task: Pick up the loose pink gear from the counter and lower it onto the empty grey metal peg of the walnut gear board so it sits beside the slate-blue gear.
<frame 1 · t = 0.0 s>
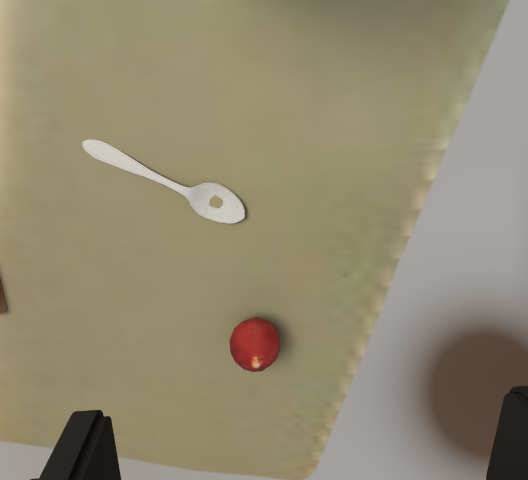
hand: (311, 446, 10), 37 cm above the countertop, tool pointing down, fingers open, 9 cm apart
spoon: (157, 174, 44), on the countertop
onion: (253, 326, 51), on the countertop
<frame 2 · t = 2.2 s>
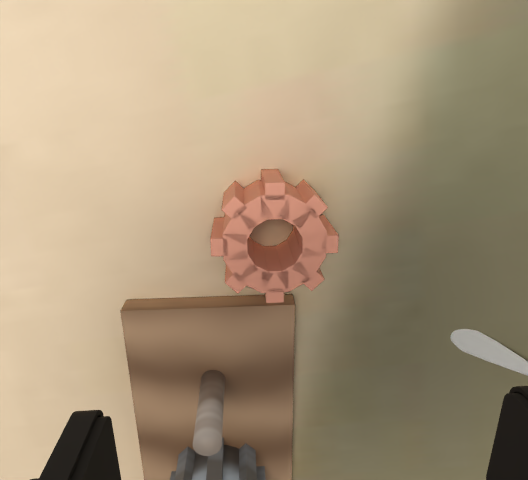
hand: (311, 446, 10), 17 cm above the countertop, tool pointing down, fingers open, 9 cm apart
gear board: (217, 426, 31), on the countertop
spoon: (527, 363, 32), on the countertop
pink gear: (269, 223, 26), on the countertop
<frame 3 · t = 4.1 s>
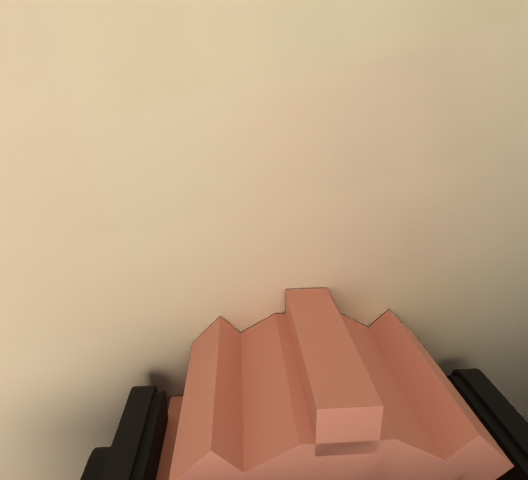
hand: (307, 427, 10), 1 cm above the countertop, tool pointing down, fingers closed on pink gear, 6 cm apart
pink gear: (302, 405, 11), on the countertop, touching gripper
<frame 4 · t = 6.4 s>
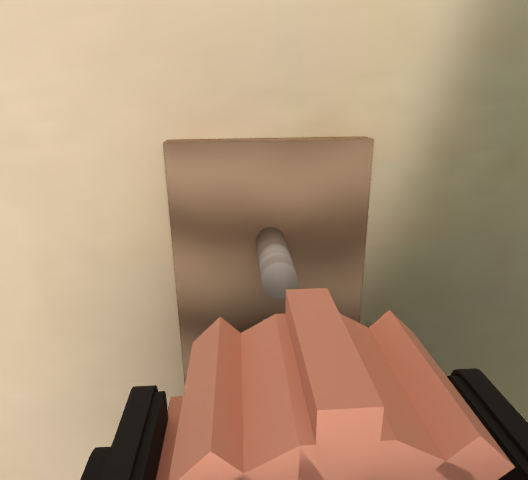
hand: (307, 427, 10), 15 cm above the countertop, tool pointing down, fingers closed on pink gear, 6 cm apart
gear board: (268, 313, 26), on the countertop
pink gear: (303, 405, 11), point 15 cm above the countertop, touching gripper
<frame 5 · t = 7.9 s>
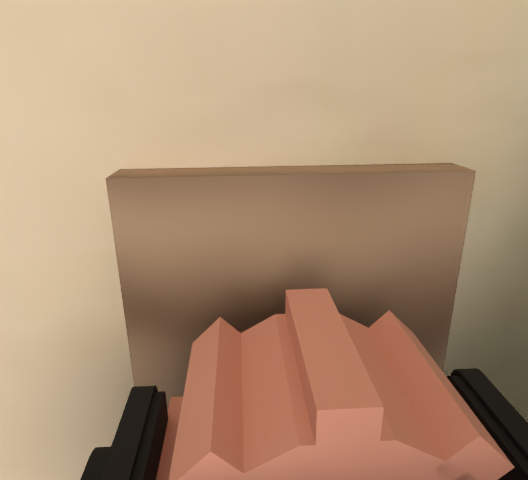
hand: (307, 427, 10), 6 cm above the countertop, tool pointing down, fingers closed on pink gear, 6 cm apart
gear board: (286, 428, 17), on the countertop
pink gear: (302, 405, 11), point 5 cm above the countertop, touching gripper
when the fingers open (4 cm above the countertop, at t = 8.8 s): pink gear drops 1 cm, resting on gear board.
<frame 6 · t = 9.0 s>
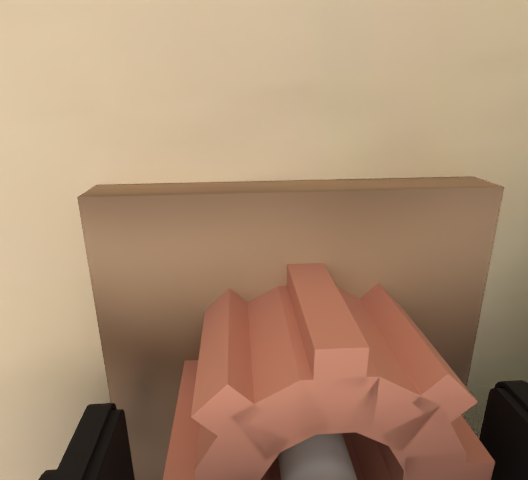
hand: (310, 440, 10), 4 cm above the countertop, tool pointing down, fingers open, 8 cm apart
gear board: (286, 468, 16), on the countertop
pink gear: (301, 369, 12), point 1 cm above the countertop, touching gear board
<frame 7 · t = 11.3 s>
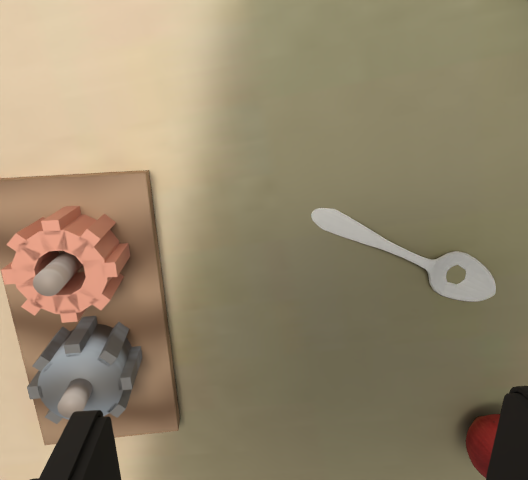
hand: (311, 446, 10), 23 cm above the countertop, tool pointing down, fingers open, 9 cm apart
gear board: (96, 312, 33), on the countertop
spoon: (385, 243, 34), on the countertop
pink gear: (80, 252, 30), point 1 cm above the countertop, touching gear board
onion: (476, 418, 40), on the countertop
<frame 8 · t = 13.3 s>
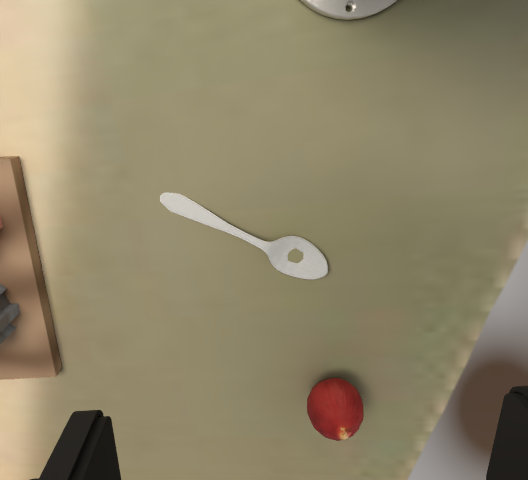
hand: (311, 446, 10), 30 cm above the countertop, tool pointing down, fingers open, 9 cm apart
spoon: (233, 226, 40), on the countertop
onion: (326, 383, 47), on the countertop
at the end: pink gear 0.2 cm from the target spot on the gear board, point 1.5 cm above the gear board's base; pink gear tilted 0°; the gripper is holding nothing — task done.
